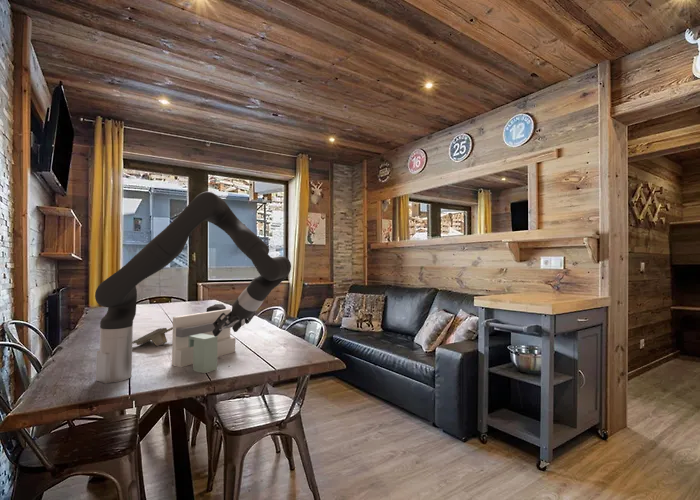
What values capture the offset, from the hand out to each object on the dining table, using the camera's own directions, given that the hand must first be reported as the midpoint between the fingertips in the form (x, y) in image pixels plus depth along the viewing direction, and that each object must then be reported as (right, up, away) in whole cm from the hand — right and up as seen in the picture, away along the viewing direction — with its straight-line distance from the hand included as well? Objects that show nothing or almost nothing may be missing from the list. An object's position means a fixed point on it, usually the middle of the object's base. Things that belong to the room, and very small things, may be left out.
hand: (224, 332), depth 127 cm
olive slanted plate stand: (-46, -15, +38) cm, 62 cm away
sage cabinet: (-10, -15, +5) cm, 19 cm away
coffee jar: (-18, -15, +42) cm, 48 cm away
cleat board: (-15, -15, +20) cm, 29 cm away
